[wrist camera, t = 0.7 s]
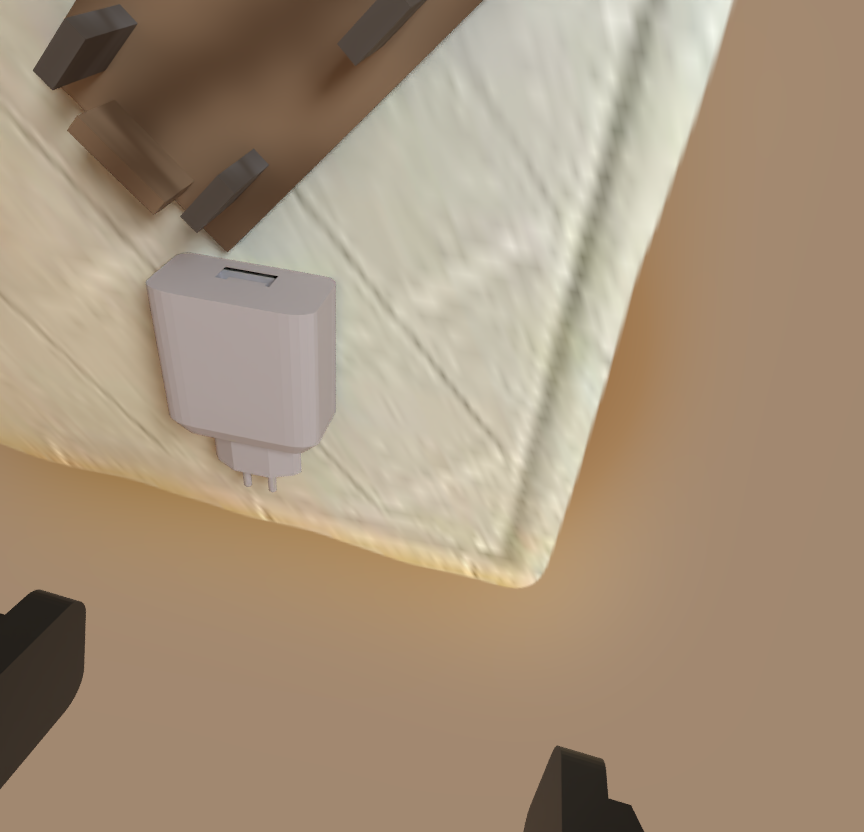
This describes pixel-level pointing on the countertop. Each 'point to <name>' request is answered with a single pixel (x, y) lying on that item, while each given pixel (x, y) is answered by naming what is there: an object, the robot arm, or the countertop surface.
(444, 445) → the countertop surface
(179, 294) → the charger
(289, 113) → the walnut holder
